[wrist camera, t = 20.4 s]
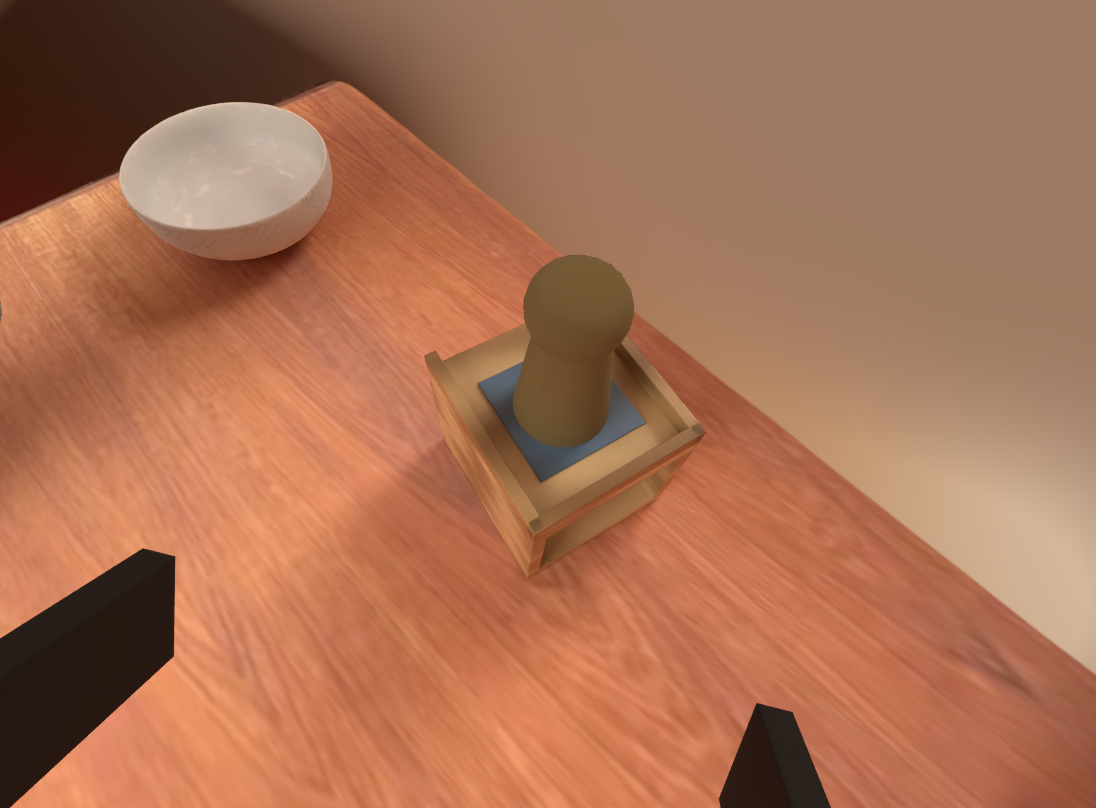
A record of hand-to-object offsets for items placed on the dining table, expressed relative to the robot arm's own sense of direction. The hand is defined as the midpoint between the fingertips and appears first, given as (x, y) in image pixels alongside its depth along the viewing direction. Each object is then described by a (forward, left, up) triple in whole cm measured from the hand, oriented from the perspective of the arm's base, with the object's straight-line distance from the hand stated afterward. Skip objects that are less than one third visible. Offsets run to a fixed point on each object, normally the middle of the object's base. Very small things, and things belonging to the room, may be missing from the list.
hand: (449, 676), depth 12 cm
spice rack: (-11, +12, -27) cm, 31 cm away
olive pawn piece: (-11, +12, -16) cm, 23 cm away
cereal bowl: (-48, +1, -27) cm, 55 cm away
